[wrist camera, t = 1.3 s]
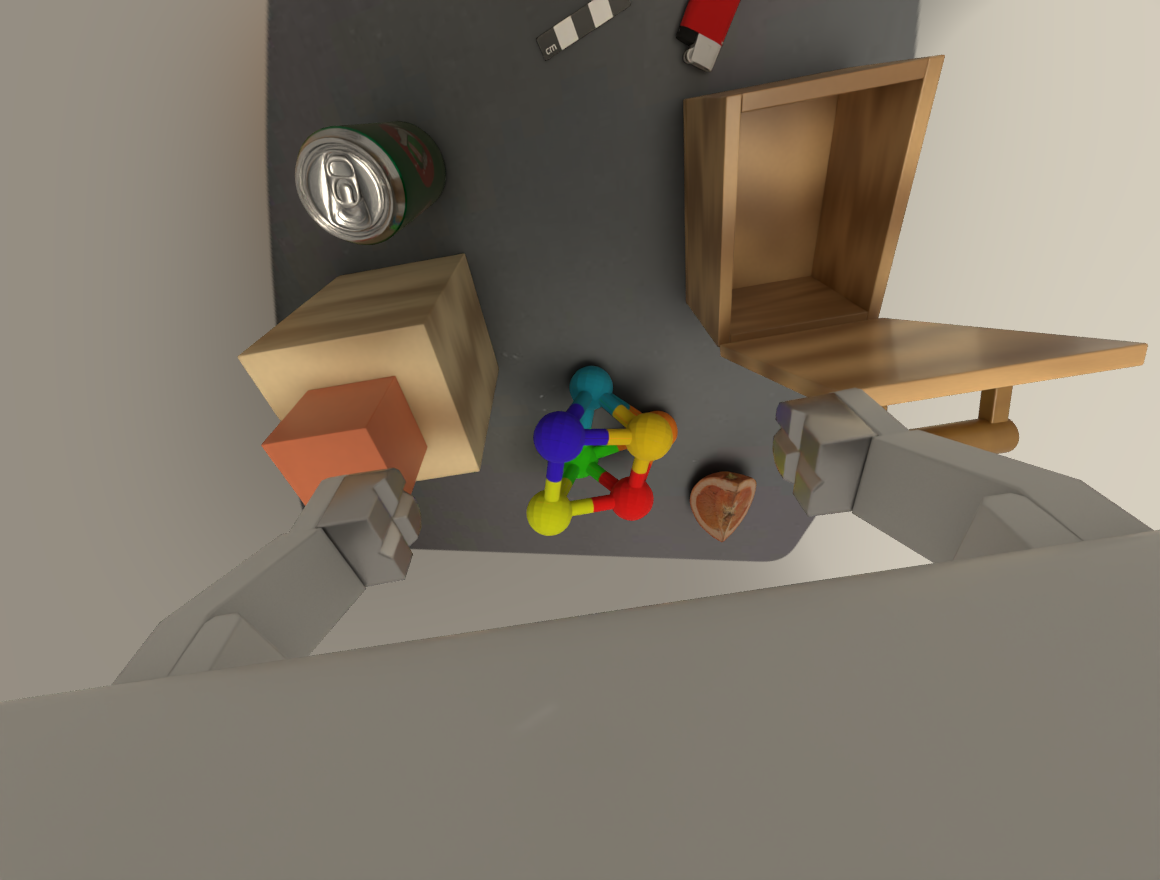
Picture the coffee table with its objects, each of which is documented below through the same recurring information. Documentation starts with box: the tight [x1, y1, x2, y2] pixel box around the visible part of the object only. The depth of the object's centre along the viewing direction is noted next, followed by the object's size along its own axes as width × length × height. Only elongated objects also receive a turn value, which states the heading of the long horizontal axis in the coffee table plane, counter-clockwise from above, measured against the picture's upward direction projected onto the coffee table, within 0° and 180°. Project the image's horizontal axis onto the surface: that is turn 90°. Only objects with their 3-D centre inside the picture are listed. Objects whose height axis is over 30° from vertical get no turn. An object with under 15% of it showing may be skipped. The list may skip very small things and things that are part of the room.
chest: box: [683, 55, 945, 347], centre depth 29 cm, size 14×11×9 cm
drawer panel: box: [720, 318, 1148, 454], centre depth 23 cm, size 14×11×5 cm
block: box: [262, 376, 428, 506], centre depth 24 cm, size 5×5×5 cm
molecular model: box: [527, 366, 677, 536], centre depth 38 cm, size 15×12×15 cm
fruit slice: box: [690, 471, 756, 542], centre depth 48 cm, size 8×7×5 cm
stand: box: [238, 253, 499, 481], centre depth 32 cm, size 10×10×14 cm
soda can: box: [295, 121, 446, 245], centre depth 26 cm, size 5×5×12 cm
